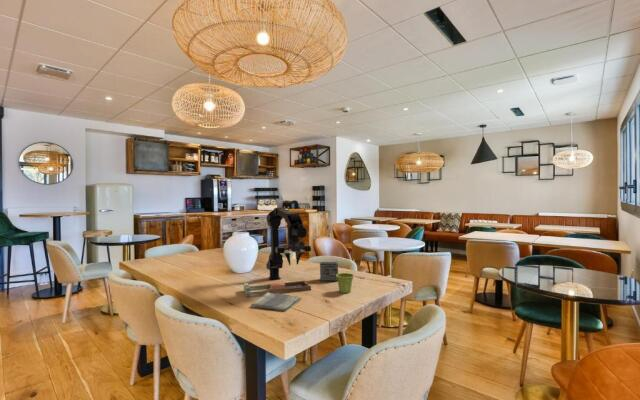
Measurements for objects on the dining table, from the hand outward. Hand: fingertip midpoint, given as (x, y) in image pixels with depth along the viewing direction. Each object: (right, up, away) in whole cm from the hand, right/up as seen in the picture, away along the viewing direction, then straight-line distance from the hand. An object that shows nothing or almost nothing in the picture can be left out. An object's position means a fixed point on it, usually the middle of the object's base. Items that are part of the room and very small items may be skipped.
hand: (293, 264), depth 173 cm
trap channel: (-8, -13, -3) cm, 16 cm away
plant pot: (+28, -13, -6) cm, 31 cm away
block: (-8, -13, -3) cm, 16 cm away
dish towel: (-6, -14, -23) cm, 28 cm away
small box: (+20, -13, +16) cm, 29 cm away
